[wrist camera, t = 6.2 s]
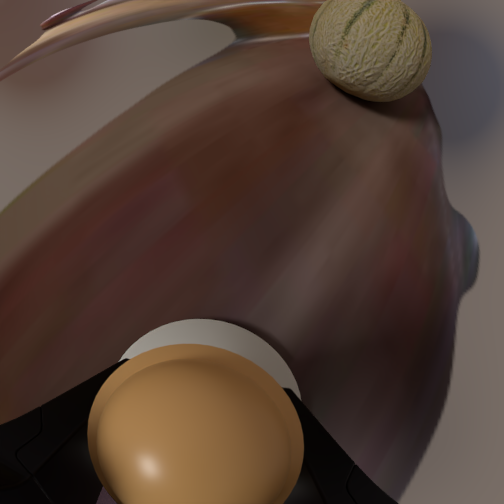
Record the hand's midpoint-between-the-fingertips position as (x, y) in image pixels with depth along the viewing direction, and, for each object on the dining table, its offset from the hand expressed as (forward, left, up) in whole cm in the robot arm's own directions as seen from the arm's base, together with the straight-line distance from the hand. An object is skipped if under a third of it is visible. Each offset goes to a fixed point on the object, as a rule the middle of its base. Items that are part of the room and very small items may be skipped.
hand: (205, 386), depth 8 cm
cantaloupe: (+14, -34, -9) cm, 38 cm away
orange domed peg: (-1, +1, -7) cm, 7 cm away
